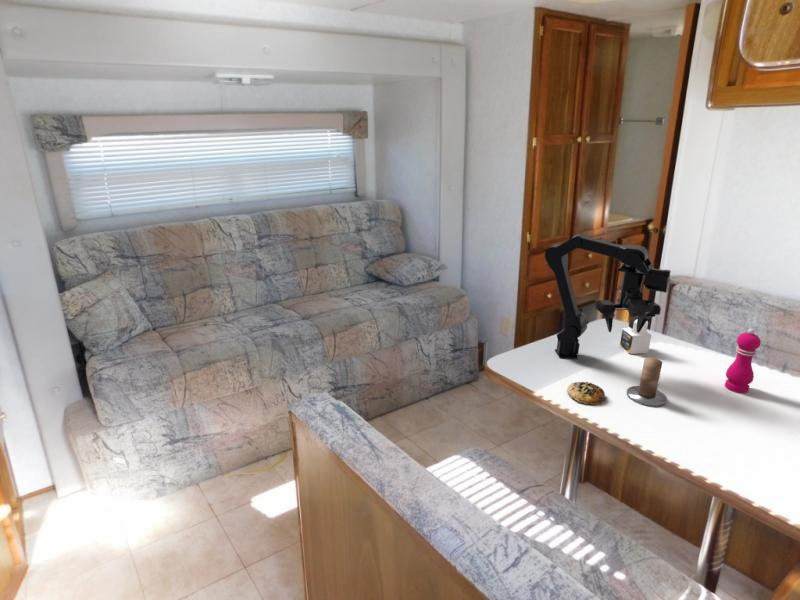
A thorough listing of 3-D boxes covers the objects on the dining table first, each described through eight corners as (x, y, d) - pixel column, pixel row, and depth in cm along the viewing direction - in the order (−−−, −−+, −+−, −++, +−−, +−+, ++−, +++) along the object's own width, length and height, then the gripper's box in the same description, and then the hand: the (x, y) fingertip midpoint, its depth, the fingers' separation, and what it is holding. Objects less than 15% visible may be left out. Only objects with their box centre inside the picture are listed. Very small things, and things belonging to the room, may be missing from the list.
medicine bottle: (619, 345, 193) (624, 315, 189) (637, 345, 194) (643, 314, 190) (629, 354, 187) (635, 322, 183) (648, 353, 188) (654, 322, 184)
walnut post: (638, 396, 157) (644, 363, 153) (637, 389, 161) (643, 356, 157) (656, 399, 155) (662, 366, 151) (654, 392, 159) (661, 359, 156)
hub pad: (636, 406, 153) (636, 404, 153) (620, 387, 163) (620, 385, 163) (673, 406, 153) (674, 404, 153) (655, 388, 163) (656, 385, 163)
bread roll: (611, 395, 159) (612, 381, 157) (594, 413, 151) (595, 399, 149) (575, 384, 166) (576, 370, 164) (558, 401, 159) (559, 387, 157)
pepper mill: (748, 385, 166) (764, 326, 160) (751, 396, 160) (768, 335, 153) (721, 380, 169) (736, 322, 162) (724, 390, 163) (739, 330, 156)
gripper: (612, 294, 159) (604, 341, 164) (673, 294, 159) (664, 342, 164) (598, 282, 169) (591, 328, 174) (656, 283, 170) (647, 328, 175)
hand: (623, 332), depth 172 cm, fingers open, 9 cm apart
